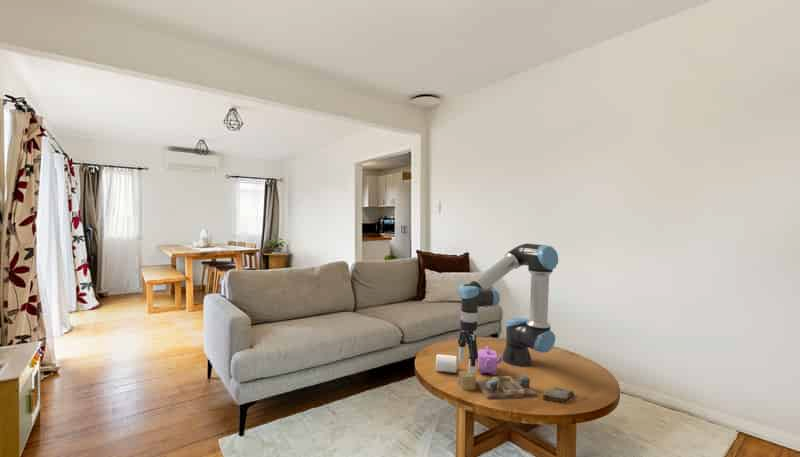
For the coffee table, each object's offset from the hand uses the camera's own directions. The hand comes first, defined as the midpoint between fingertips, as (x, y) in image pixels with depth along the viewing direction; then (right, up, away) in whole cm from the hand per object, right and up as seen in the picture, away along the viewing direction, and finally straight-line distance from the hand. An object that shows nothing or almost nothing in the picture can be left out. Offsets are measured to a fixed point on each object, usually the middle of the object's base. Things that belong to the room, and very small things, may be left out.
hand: (466, 366), depth 167 cm
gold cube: (0, -9, 0) cm, 9 cm away
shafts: (+18, -9, -3) cm, 20 cm away
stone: (+39, -11, -8) cm, 41 cm away
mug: (-7, -9, +19) cm, 22 cm away
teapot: (+14, -9, +18) cm, 24 cm away
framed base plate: (+17, -10, -1) cm, 20 cm away
